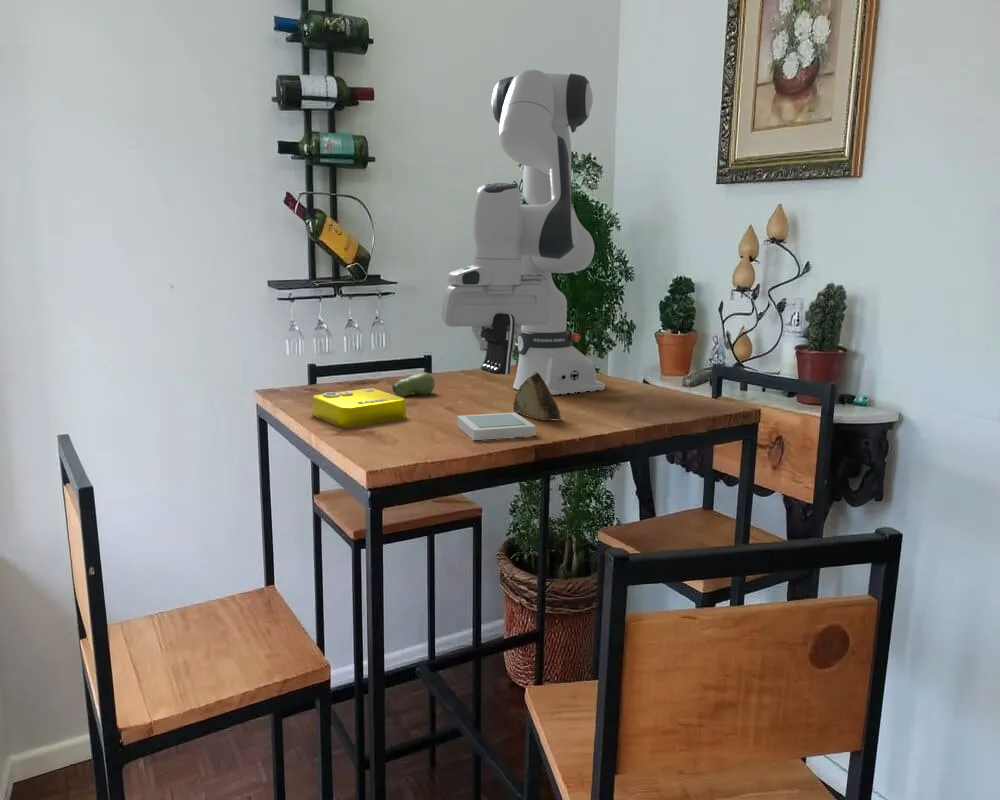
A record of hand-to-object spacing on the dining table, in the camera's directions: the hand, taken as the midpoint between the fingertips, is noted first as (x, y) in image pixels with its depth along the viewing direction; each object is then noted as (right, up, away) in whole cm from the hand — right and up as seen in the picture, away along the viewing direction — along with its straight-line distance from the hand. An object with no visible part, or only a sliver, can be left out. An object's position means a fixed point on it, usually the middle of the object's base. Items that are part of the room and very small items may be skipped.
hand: (496, 349), depth 145 cm
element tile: (-28, -13, +15) cm, 34 cm away
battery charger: (-1, -5, +1) cm, 5 cm away
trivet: (0, -15, +3) cm, 16 cm away
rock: (+8, -13, +16) cm, 22 cm away
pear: (-19, -8, +37) cm, 42 cm away
